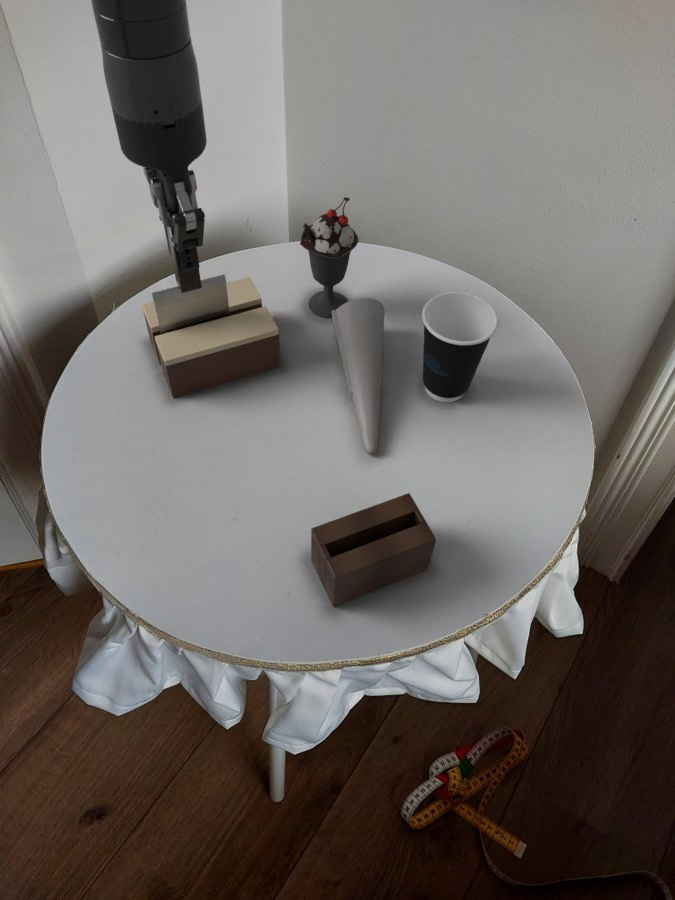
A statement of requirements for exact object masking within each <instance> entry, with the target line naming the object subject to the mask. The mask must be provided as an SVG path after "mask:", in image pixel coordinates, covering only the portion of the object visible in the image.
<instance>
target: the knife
mask: <svg viewBox="0 0 675 900" xmlns="http://www.w3.org/2000/svg"><path fill="white" fill-rule="evenodd" d="M166 230H167V236H168V241H169V246H170V251H171V255H170V256H171V261H172V266H173V272H174V279H175V281H176V284H177V286H173V287H169V288H166V289H162V290H158V291H154V292H151V296H152V300H153V301H152V302H154V305H155V310H156V314H157V318H158V323H159V327H160V331H161V334H165V333H169V332H172V331H176V330H180V329H184V328H187V327H191V326H195V325H198V324H202V323H206V322H209V321H213V320H217V319H221V318H224V317H228V316H230V311H229V302H228V294H227V286H226V283H227V277H226V275H225V274H224V273H223V274H220V275H217V276H216V275H215V276H211V277H208V278H204V279H201V273H200V268H199V269H198V270H196V271H192V272H188V273H184V274H181V273H179V272H178V269H177V267H176V262H175V257H174V251H173V246H172V243H171V242H170V233H169V229H168V227H167V226H166Z"/></svg>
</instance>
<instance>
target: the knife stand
mask: <svg viewBox="0 0 675 900" xmlns="http://www.w3.org/2000/svg"><path fill="white" fill-rule="evenodd" d="M310 534H311V535H310V536H311V537H310V541H311V542H310V544H311V545H310V546H311V547H310V560H311V563H312V565H313V567H314V569H315V572H316V573H317V577H318V578H319V580H320V582H321V584H322V587H323V589H324V591H325V593H326V595H327V598H328V599H329V602H330V604H331V606H332V607H333V608H335V607H338V606H340V605H342V604H345V603H347V602H350V601H353V600H355V599H357V598H360V597H363V596H365V595H368V594H370V593H373V592H375V591H378V590H380V589H383V588H385V587H388V586H390V585H393V584H396V583H398V582H400V581H403V580H405V579H408V578H411V577H413V576H416V575H418V574H420V573H423V572H426V571H428V570H429V567H430V563H431V560H432V556H433V552H434V548H435V545H436V543H437V542H436V541H437V538H436V536H435V534H434V532H433V531H432V529H431V527H430V526H429V524H428V522H427V520H426V519H425V517H424V515H423V514H422V512H421V510H420V508H419V506H418V505H417V503H416V502H415V500H414V498H413V497H412V495H411V493H410V492H408V493H405V494H402V495H400V496H397V497H394V498H391V499H389V500H385V501H382V502H380V503H377V504H374V505H372V506H369V507H367V508H364V509H360V510H358V511H356V512H352V513H350V514H347V515H345V516H342V517H339V518H336V519H333V520H331V521H327V522H325V523H322V524H320V525H317V526H315V527H311V529H310Z"/></svg>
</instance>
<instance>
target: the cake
mask: <svg viewBox="0 0 675 900" xmlns="http://www.w3.org/2000/svg"><path fill="white" fill-rule="evenodd" d="M226 286H227V294H228V302H229V311H230V316H228V317H224V318H221V319H217V320H213V321H209V322H206V323H202V324H198V325H195V326H191V327H187V328H184V329H180V330H176V331H172V332H169V333H165V334H161V331H160V327H159V323H158V318H157V314H156V310H155V305H154V301H150V302H147V303H143V304H141V308H142V312H143V316H144V320H145V324H146V328H147V333H148V337H149V340H150V344H151V346H152V349H153V351H154V355H155V356H156V359H157V362H158V364H159V365H160V366H161V370H162V373H163V376H164V379H165V381H166V384H167V385H168V389H169V391H170V394H171V397H172V399H175V398H178V397H183V396H185V395H188V394H189V395H190V394H191V393H195V392H199V391H202V390H205V389H208V388H212V387H216V386H218V385H222V384H225V383H230V382H232V381H235V380H236V381H237V380H239V379H243V378H246V377H249V376H253V375H256V374H259V373H263V372H266V371H269V370H273V369H277V368H280V367H281V350H280V349H281V347H280V329H279V327H278V325H277V324H276V322H275V320H274V318H273V316H272V315H271V313H270V311H269V309H268V307H267V306H263V303H262V301H263V299H262V297H261V295H260V293H259V291H258V289H257V287H256V285H255V284H254V282H253V280H252V279H251V277H250V276H248V277H243V278H241V279H236V280H233V281H232V280H231V281H228V282H226Z"/></svg>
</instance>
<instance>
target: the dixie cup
mask: <svg viewBox="0 0 675 900" xmlns="http://www.w3.org/2000/svg"><path fill="white" fill-rule="evenodd" d="M421 316H422V322H423V324H424V326H423V355H422V356H423V360H422V361H423V362H422V382H423V385H424V390H425V392H426V394H427V395H428V396H429V397H430V398H432V399H433V400H435V401H437V402H440V403H453V402H457V401H458V400H460V399H461V398H463V397H464V395H465V394H466V393H467V391H468V390H469V388H470V386H471V383H472V382H473V378H474V377H475V375H476V372H477V370H478V368H479V366H480V363H481V360H482V359H483V356H484V354H485V352H486V349H487V347H488V344H489V342H490V341H491V338H492V337H493V335H494V334H495V333H496V332H497V329H498V327H499V316H498V313H497V311H496V310H495V309H494V307H493V306H492V304H490V303H489V302H488V301H487V300H485V299H483V298H482V297H480V296H478V295H476V294H473V293H469V292H465V291H447V292H443V293H440V294H436V295H435V296H433V297H432V298H431V299H429V300H428V301H427V302H426V303H425V305H424V306H423V309H422V314H421Z"/></svg>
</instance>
